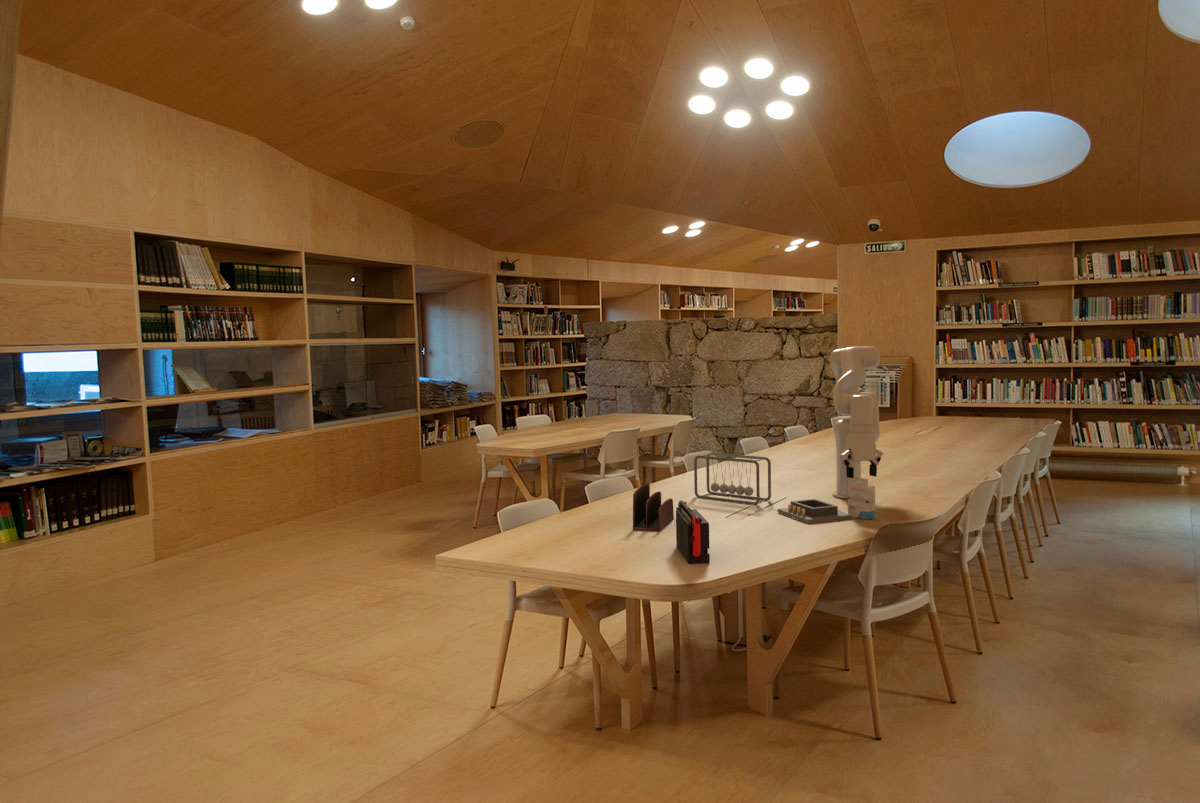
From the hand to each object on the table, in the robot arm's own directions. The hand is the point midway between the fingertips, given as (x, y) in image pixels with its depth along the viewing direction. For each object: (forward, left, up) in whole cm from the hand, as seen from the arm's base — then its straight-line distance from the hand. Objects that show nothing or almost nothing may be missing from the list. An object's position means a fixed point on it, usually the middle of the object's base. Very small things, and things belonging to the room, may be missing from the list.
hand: (861, 476), depth 291 cm
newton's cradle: (+26, -49, -15) cm, 58 cm away
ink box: (0, -1, -15) cm, 15 cm away
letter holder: (+72, -22, -15) cm, 77 cm away
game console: (+77, +21, -15) cm, 81 cm away
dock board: (+14, -10, -15) cm, 22 cm away
